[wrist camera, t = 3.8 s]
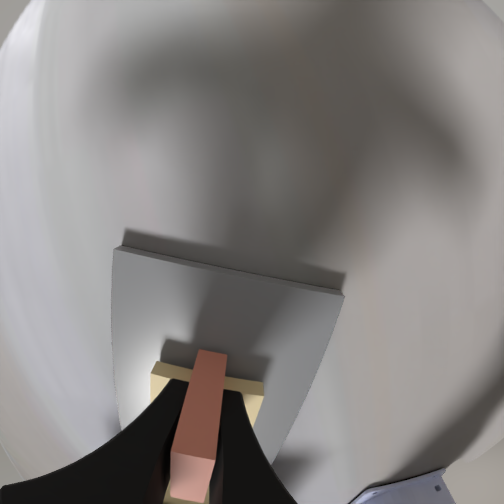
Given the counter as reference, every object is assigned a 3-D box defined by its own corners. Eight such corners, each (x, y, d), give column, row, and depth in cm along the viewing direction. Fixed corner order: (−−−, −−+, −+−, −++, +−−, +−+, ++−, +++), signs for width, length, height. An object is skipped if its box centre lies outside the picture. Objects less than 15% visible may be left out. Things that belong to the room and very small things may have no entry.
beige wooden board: (269, 361, 9) (281, 466, 5) (217, 505, 12) (214, 556, 8) (157, 339, 9) (108, 431, 5) (159, 494, 12) (148, 543, 8)
